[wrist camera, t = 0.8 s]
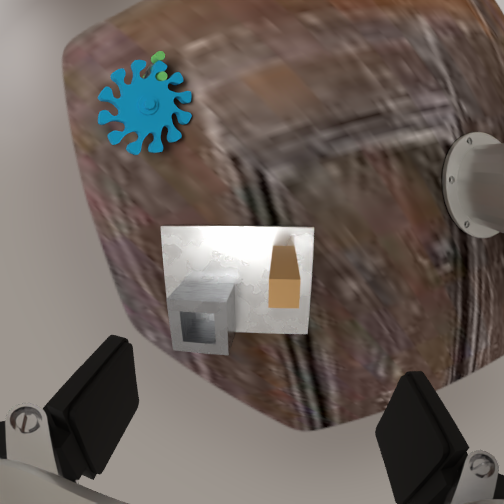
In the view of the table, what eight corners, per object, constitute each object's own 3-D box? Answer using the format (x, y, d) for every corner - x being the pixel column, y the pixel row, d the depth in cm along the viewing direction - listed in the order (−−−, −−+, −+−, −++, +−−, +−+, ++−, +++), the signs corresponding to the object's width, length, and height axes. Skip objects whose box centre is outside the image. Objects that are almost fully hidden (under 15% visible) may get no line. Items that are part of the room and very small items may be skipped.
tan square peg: (294, 245, 30) (300, 279, 20) (294, 266, 31) (299, 308, 21) (272, 245, 30) (268, 279, 21) (272, 266, 31) (268, 307, 21)
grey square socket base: (313, 226, 30) (320, 238, 25) (307, 330, 33) (310, 358, 28) (163, 225, 32) (140, 235, 26) (172, 323, 35) (155, 348, 29)
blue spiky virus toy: (181, 165, 28) (85, 142, 22) (158, 164, 33) (78, 147, 26) (209, 68, 27) (124, 35, 20) (183, 80, 31) (109, 55, 24)
